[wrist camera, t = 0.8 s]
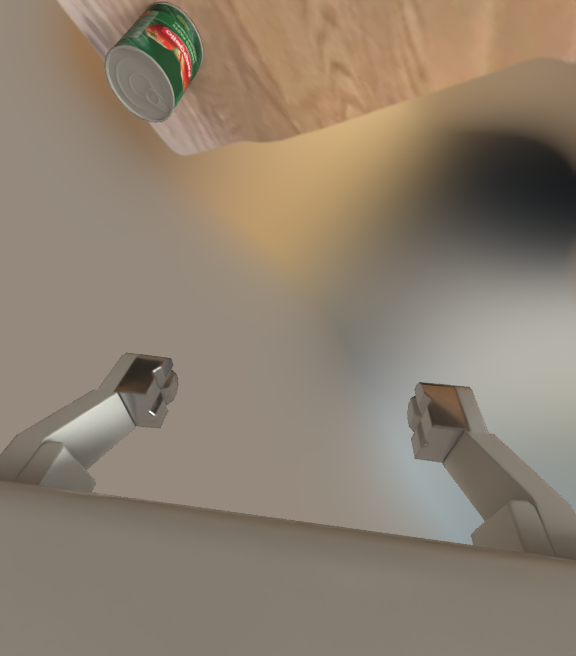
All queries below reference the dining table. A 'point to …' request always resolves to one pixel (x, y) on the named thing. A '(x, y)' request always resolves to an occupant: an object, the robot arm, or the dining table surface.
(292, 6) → the dining table surface
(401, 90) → the dining table surface
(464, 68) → the dining table surface
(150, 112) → the canned tomato
